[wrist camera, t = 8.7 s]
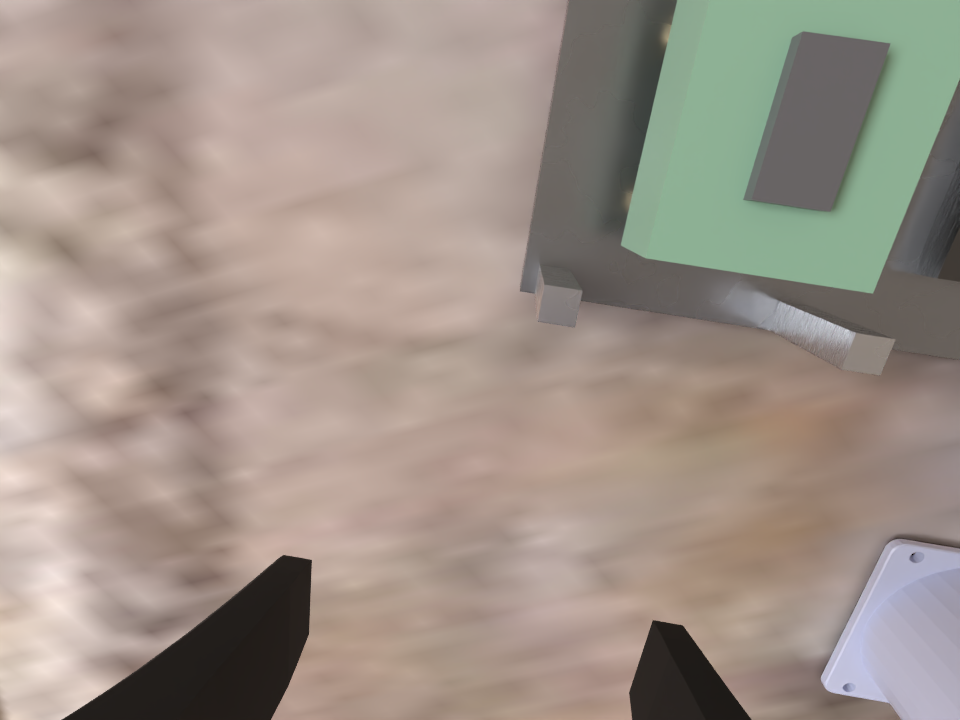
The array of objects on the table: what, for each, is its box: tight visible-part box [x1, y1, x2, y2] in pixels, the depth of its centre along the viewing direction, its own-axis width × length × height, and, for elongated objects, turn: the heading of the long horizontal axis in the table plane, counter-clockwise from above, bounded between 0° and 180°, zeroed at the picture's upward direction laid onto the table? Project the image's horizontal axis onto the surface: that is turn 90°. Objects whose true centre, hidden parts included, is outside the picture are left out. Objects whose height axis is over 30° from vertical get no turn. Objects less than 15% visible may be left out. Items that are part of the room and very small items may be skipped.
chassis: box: [520, 0, 960, 376], centre depth 13 cm, size 18×12×5 cm, turn 82°
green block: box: [621, 0, 960, 294], centre depth 11 cm, size 5×8×3 cm, turn 172°
